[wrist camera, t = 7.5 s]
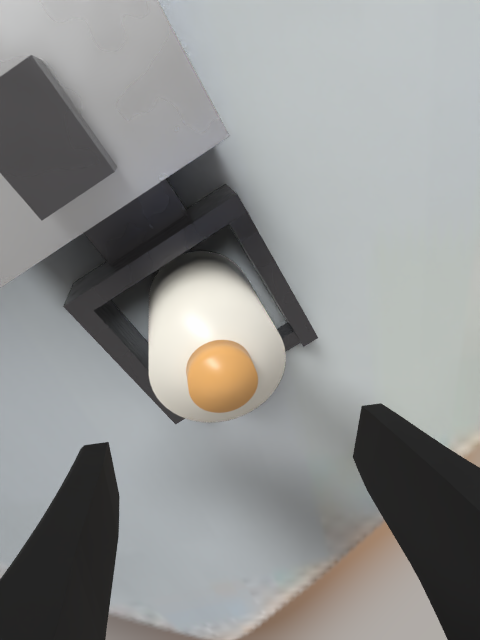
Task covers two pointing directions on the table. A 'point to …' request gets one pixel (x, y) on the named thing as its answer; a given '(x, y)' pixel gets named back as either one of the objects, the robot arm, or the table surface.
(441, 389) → the table surface
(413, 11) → the table surface
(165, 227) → the grey two-tone device
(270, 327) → the white orange-capped bottle
